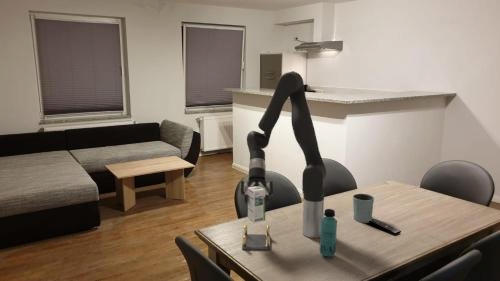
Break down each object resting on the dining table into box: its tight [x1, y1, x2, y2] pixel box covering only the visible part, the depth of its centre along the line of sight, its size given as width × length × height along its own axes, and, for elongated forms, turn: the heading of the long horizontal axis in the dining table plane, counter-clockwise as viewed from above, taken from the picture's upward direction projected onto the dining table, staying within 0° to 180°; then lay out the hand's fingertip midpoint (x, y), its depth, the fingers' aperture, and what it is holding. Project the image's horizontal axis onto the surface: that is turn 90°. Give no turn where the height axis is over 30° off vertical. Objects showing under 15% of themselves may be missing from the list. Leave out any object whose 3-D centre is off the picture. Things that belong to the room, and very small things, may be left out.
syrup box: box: [247, 186, 266, 224], centre depth 159 cm, size 6×6×14 cm
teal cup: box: [352, 193, 375, 224], centre depth 186 cm, size 10×10×12 cm
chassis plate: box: [241, 225, 271, 251], centre depth 162 cm, size 12×12×6 cm
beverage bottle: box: [319, 208, 338, 257], centre depth 150 cm, size 6×7×20 cm
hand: (256, 204), depth 158 cm, fingers closed on syrup box, 7 cm apart
